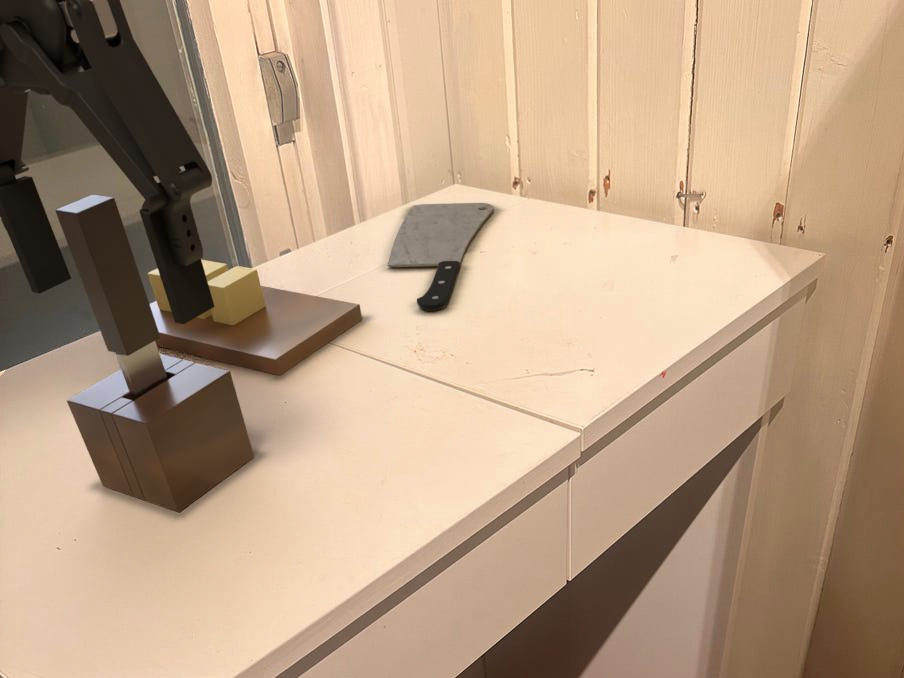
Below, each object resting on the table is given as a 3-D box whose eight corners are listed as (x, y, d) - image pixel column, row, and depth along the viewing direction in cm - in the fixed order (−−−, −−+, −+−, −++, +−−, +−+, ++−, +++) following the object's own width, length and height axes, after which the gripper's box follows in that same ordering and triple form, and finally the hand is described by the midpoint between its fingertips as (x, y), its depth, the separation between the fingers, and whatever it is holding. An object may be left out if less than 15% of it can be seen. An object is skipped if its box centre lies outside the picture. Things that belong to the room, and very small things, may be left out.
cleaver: (348, 312, 87) (451, 310, 85) (347, 306, 86) (450, 305, 85) (413, 207, 108) (496, 204, 106) (412, 203, 107) (496, 200, 106)
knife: (155, 478, 68) (54, 210, 55) (184, 458, 69) (92, 194, 57) (174, 484, 67) (76, 213, 54) (203, 464, 69) (114, 197, 56)
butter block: (159, 309, 87) (147, 273, 85) (192, 291, 90) (181, 255, 88) (204, 319, 85) (193, 282, 82) (237, 300, 87) (227, 263, 85)
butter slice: (213, 321, 84) (202, 283, 82) (246, 302, 87) (236, 265, 85) (233, 325, 83) (223, 287, 81) (265, 306, 86) (256, 269, 83)
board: (120, 337, 87) (115, 322, 86) (208, 289, 94) (204, 274, 93) (279, 375, 78) (275, 359, 77) (362, 319, 86) (359, 304, 85)
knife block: (102, 486, 67) (65, 400, 63) (179, 434, 72) (151, 351, 67) (179, 512, 64) (146, 424, 59) (254, 456, 69) (230, 370, 64)
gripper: (204, -152, 42) (304, 303, 56) (-108, -120, 52) (42, 255, 67) (75, -135, 37) (220, 355, 52) (-237, -104, 48) (-46, 295, 62)
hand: (120, 300), depth 59 cm, fingers open, 13 cm apart
